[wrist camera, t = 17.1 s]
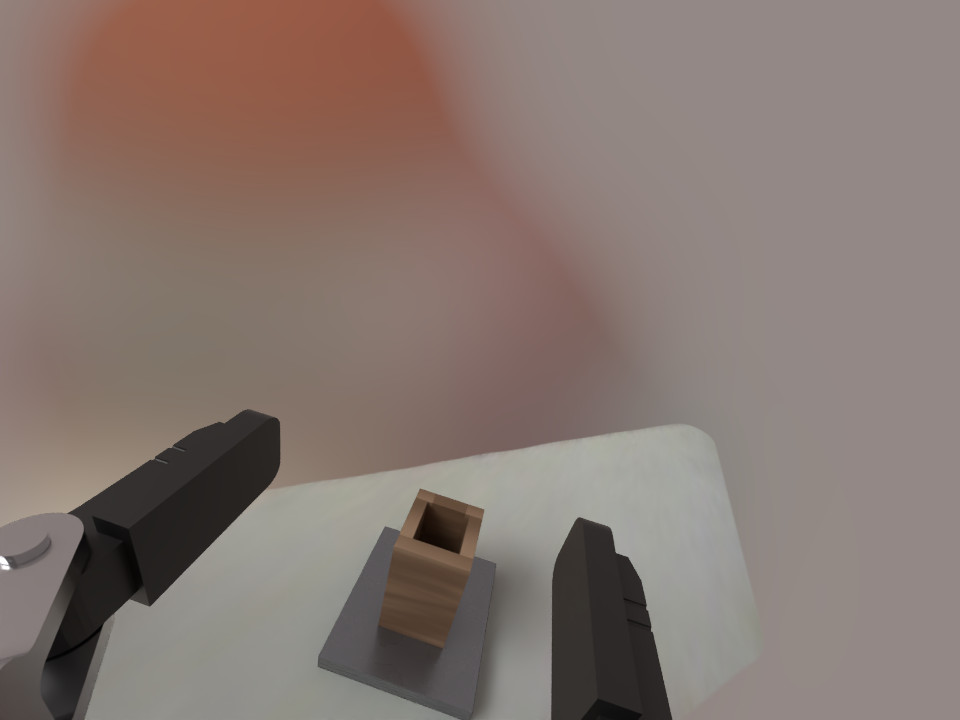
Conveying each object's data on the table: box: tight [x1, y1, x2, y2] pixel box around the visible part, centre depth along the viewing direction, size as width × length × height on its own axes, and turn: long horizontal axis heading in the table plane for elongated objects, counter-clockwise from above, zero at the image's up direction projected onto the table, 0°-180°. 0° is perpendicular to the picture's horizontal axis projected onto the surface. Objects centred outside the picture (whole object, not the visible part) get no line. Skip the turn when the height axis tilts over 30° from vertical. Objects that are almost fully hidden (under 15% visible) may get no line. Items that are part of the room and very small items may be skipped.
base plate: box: [318, 526, 496, 720], centre depth 32 cm, size 12×12×6 cm
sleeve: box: [378, 489, 484, 648], centre depth 30 cm, size 6×6×10 cm
